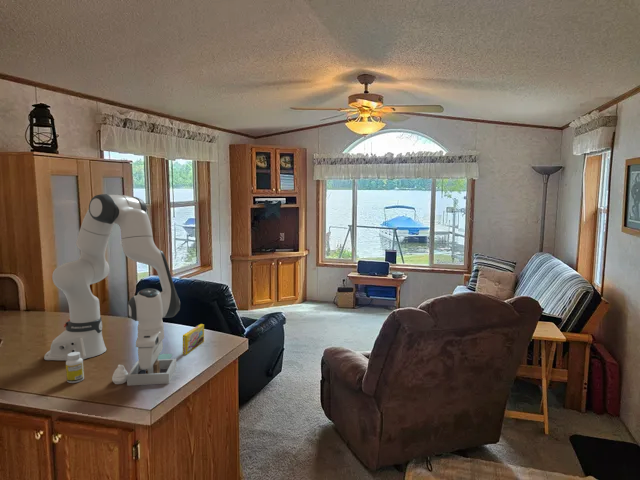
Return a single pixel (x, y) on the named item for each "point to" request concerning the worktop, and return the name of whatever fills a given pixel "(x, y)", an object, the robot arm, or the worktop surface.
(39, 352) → the worktop surface
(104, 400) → the worktop surface
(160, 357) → the teal tile
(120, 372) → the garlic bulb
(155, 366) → the walnut block
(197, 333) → the candy box
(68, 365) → the supplement bottle
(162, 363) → the grey bin
